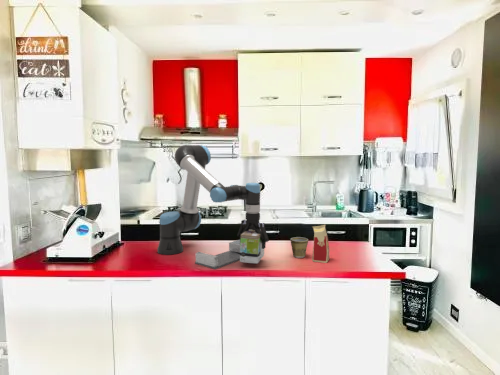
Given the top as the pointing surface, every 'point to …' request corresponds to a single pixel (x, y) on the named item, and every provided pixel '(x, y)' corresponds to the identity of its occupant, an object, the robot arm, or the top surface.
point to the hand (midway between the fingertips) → (252, 252)
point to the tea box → (250, 247)
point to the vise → (217, 259)
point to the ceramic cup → (299, 246)
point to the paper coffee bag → (320, 245)
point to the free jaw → (234, 246)
